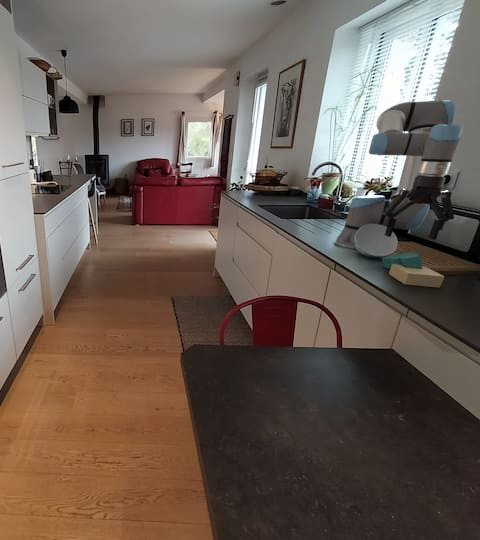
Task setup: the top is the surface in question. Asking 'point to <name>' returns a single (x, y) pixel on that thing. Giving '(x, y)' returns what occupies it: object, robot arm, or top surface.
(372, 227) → the chinaware
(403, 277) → the sand pad
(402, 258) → the teal star block
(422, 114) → the robot arm
